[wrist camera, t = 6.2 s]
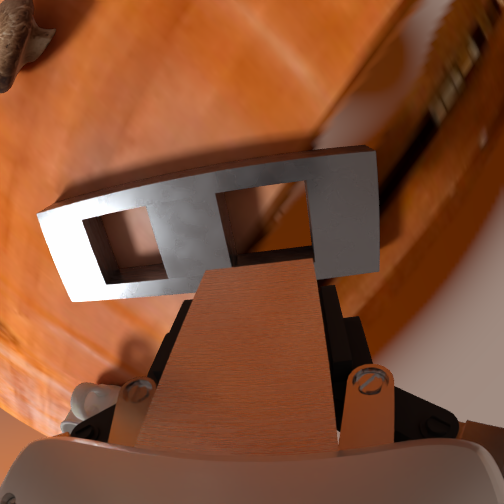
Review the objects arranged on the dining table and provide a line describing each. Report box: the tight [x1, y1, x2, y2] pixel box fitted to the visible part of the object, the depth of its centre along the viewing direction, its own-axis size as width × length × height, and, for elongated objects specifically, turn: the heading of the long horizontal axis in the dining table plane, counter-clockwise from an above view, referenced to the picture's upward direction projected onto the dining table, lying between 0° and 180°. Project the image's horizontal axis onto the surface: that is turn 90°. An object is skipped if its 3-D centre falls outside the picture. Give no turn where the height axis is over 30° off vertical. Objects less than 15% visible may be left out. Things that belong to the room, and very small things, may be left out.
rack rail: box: [37, 145, 380, 302], centre depth 22 cm, size 24×8×2 cm, turn 100°
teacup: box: [60, 382, 121, 434], centre depth 30 cm, size 14×11×8 cm
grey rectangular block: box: [135, 258, 338, 456], centre depth 9 cm, size 4×4×9 cm
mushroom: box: [0, 0, 56, 93], centre depth 15 cm, size 8×8×6 cm
